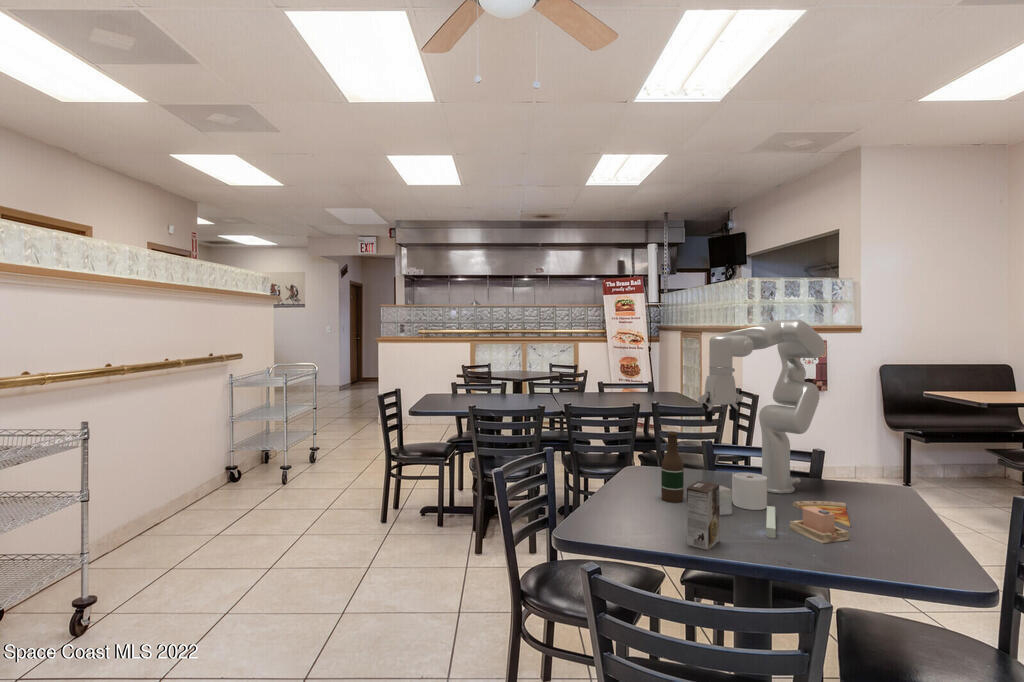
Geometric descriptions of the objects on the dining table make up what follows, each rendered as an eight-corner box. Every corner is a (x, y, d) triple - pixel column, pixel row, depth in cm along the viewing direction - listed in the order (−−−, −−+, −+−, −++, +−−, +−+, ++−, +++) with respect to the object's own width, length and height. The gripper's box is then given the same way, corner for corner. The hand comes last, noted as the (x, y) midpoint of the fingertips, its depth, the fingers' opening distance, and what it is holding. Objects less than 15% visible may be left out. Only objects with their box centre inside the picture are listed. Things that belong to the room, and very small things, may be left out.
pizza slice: (792, 521, 174) (792, 514, 174) (793, 501, 194) (793, 496, 194) (850, 529, 167) (850, 522, 167) (845, 508, 187) (845, 502, 187)
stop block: (815, 526, 166) (815, 504, 165) (834, 534, 159) (834, 511, 159) (802, 528, 164) (802, 506, 164) (821, 536, 158) (822, 513, 157)
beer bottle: (686, 502, 192) (686, 433, 192) (664, 502, 192) (664, 434, 192) (680, 496, 200) (680, 430, 199) (658, 496, 200) (658, 430, 200)
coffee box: (698, 535, 161) (698, 480, 161) (720, 540, 157) (720, 484, 157) (685, 545, 154) (685, 487, 154) (708, 550, 150) (708, 491, 150)
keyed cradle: (815, 525, 168) (815, 518, 168) (848, 539, 157) (848, 531, 157) (789, 529, 166) (789, 521, 166) (822, 543, 154) (822, 535, 154)
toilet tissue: (762, 512, 181) (762, 482, 181) (725, 505, 188) (725, 476, 188) (770, 504, 190) (770, 475, 190) (733, 498, 197) (734, 470, 197)
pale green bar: (766, 514, 179) (766, 505, 179) (775, 515, 178) (775, 506, 178) (766, 537, 159) (766, 527, 159) (775, 538, 158) (775, 528, 158)
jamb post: (721, 509, 185) (721, 485, 184) (731, 514, 180) (731, 489, 180) (708, 510, 183) (708, 486, 183) (718, 515, 178) (718, 490, 178)
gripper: (734, 370, 197) (734, 418, 198) (692, 371, 193) (692, 420, 193) (749, 372, 190) (749, 421, 190) (705, 373, 185) (705, 424, 186)
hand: (720, 421), depth 192 cm, fingers open, 9 cm apart
